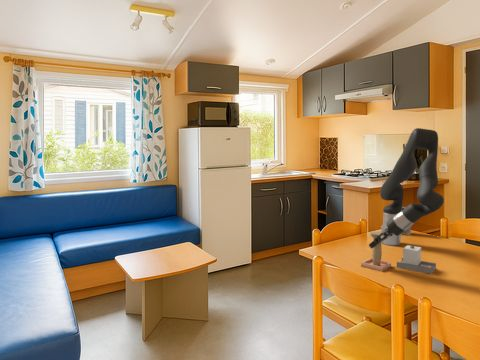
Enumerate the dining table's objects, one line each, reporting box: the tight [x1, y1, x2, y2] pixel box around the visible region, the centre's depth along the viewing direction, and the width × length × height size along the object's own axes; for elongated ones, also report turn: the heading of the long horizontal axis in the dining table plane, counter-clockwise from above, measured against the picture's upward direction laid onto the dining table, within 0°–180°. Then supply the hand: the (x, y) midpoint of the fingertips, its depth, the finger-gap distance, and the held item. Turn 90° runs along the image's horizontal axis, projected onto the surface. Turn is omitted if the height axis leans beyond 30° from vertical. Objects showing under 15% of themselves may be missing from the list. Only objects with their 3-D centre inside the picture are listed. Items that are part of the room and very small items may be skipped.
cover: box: [402, 245, 422, 265], centre depth 174 cm, size 6×7×8 cm
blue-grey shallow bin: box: [396, 256, 437, 275], centre depth 174 cm, size 14×8×2 cm, turn 51°
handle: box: [369, 231, 383, 266], centre depth 176 cm, size 5×6×15 cm
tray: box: [360, 257, 392, 272], centre depth 177 cm, size 10×9×2 cm
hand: (372, 245), depth 177 cm, fingers open, 4 cm apart
